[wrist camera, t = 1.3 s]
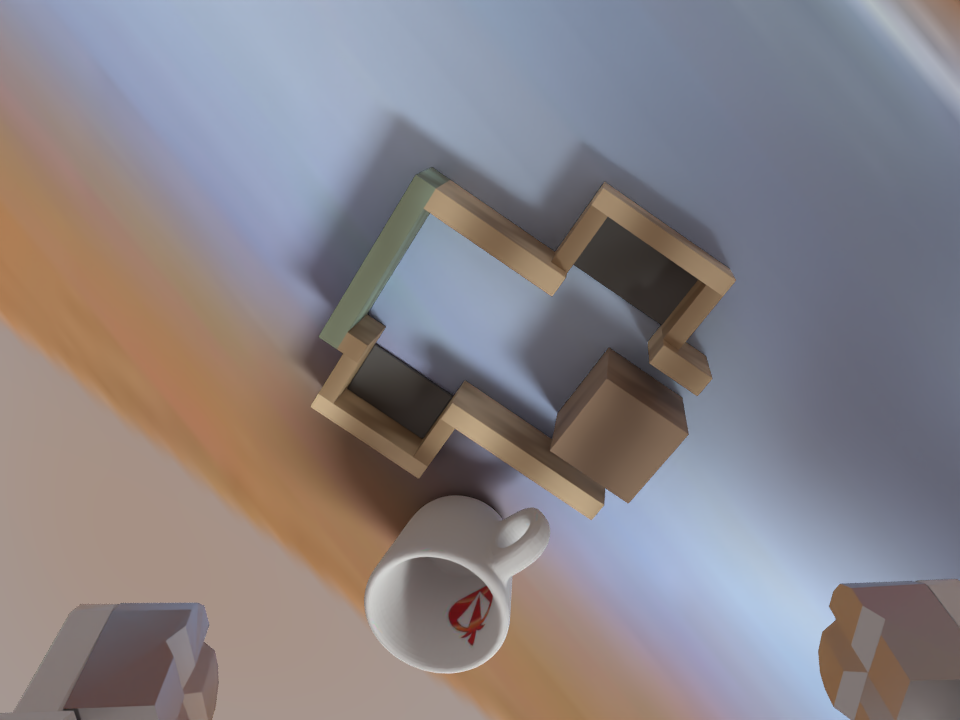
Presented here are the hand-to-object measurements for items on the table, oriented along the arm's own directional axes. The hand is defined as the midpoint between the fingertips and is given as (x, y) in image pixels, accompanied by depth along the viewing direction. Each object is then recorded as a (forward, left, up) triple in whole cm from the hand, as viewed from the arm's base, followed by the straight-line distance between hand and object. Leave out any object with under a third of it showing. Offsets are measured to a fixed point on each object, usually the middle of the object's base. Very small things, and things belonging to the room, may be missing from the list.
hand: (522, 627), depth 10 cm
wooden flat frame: (0, +8, -34) cm, 35 cm away
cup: (-5, +20, -34) cm, 40 cm away
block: (-7, +8, -34) cm, 36 cm away
